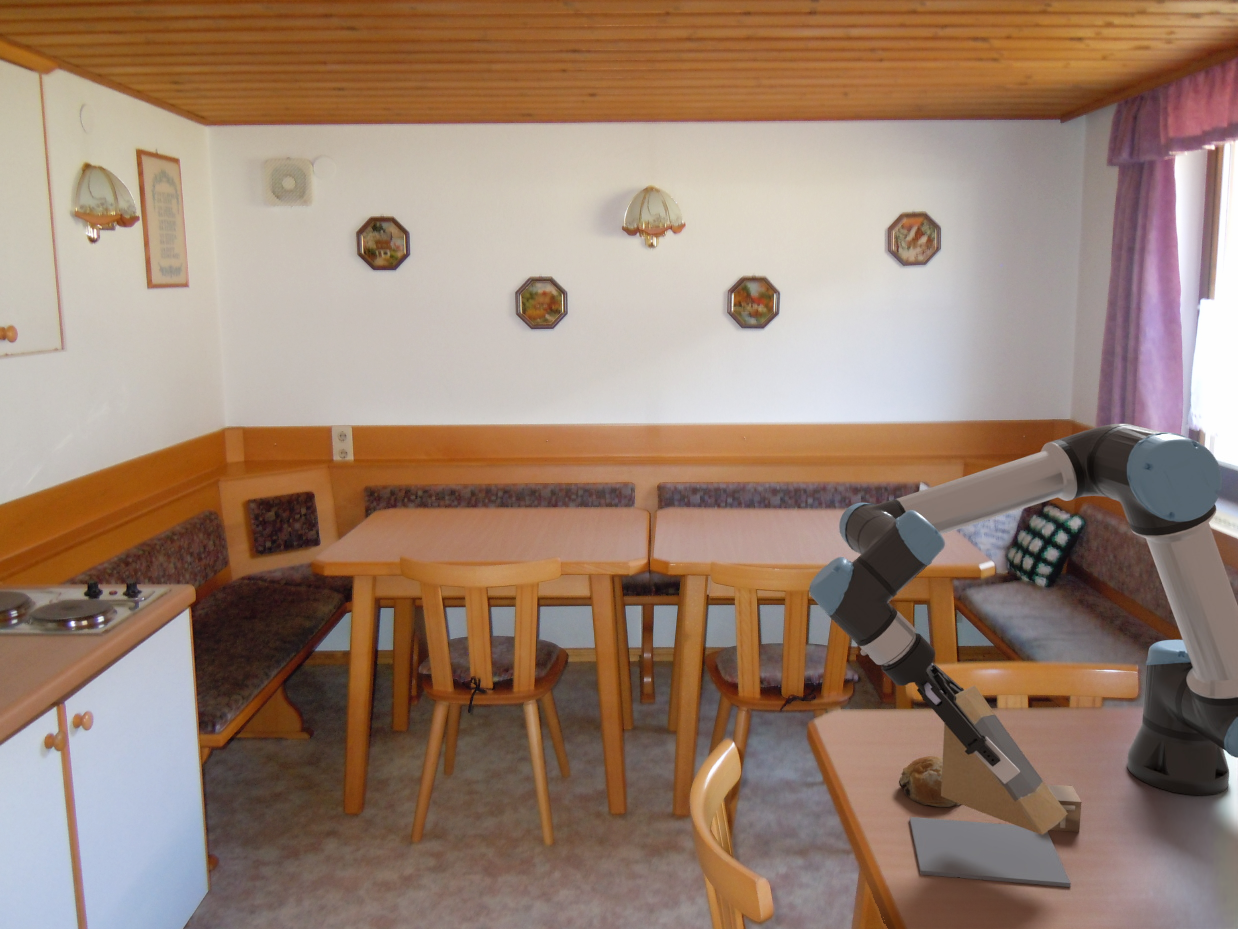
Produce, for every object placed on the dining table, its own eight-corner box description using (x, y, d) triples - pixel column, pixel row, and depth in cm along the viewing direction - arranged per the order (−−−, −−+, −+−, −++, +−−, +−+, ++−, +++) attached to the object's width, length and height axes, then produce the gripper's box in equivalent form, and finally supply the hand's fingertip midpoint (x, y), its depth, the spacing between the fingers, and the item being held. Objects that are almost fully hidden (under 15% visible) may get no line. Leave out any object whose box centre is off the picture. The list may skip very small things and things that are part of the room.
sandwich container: (1042, 836, 139) (1050, 732, 136) (939, 796, 150) (944, 699, 147) (1070, 814, 145) (1077, 713, 142) (968, 777, 156) (974, 683, 153)
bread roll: (943, 833, 164) (967, 796, 161) (886, 793, 168) (909, 756, 165) (958, 806, 172) (982, 771, 169) (904, 768, 176) (926, 733, 173)
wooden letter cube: (1070, 815, 162) (1072, 786, 161) (1079, 833, 156) (1081, 802, 156) (1037, 813, 162) (1038, 784, 161) (1045, 830, 157) (1047, 800, 156)
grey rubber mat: (1045, 831, 157) (1045, 827, 157) (1070, 887, 142) (1070, 883, 142) (909, 820, 160) (909, 817, 160) (920, 874, 146) (920, 870, 146)
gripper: (872, 637, 161) (969, 737, 161) (885, 698, 138) (998, 814, 138) (909, 606, 159) (1007, 707, 159) (928, 662, 136) (1043, 780, 136)
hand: (1003, 757), depth 148 cm, fingers closed on sandwich container, 12 cm apart
